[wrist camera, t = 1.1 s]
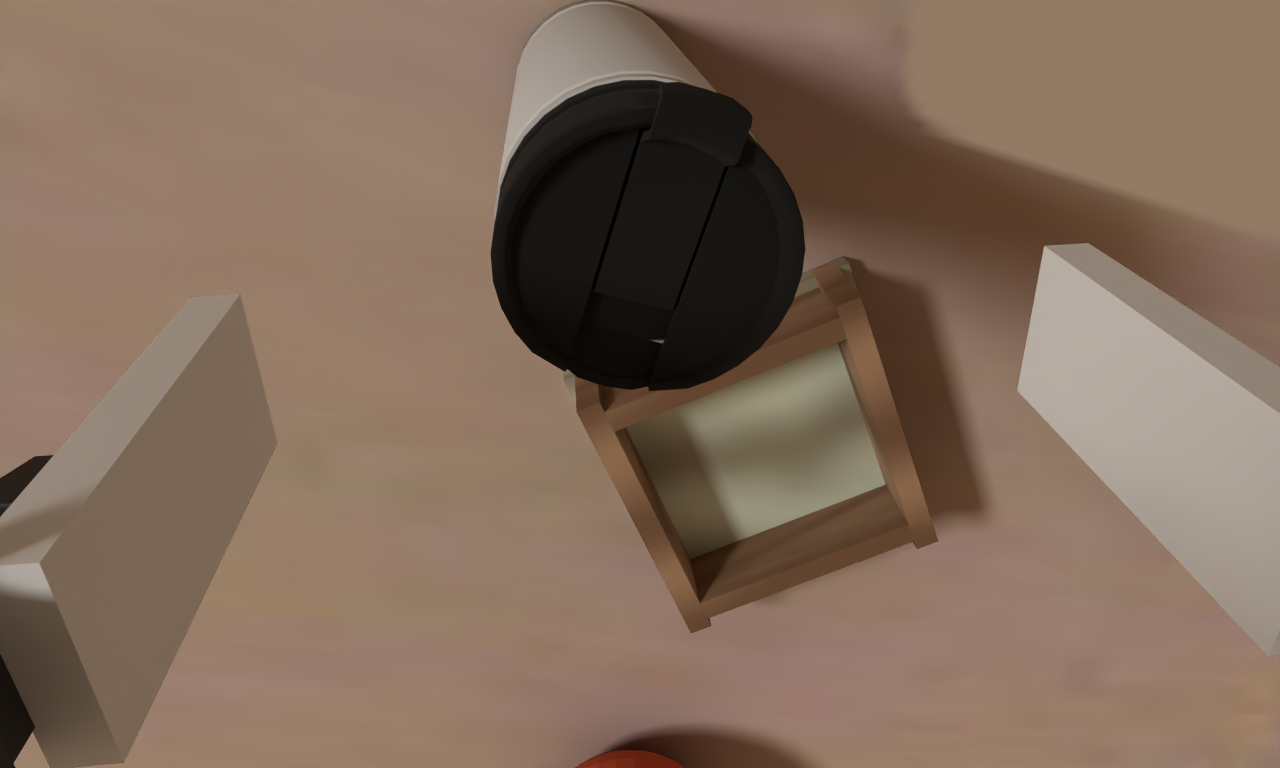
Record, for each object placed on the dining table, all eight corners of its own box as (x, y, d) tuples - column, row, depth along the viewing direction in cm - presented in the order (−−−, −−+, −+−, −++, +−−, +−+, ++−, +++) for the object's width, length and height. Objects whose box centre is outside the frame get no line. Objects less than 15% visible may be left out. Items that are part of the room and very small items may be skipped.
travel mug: (706, 18, 34) (873, 145, 17) (652, 186, 37) (748, 447, 20) (541, -36, 33) (536, 42, 15) (499, 143, 36) (453, 382, 18)
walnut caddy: (563, 371, 41) (565, 416, 37) (843, 256, 39) (873, 291, 36) (671, 581, 47) (681, 637, 43) (917, 487, 45) (948, 537, 42)
